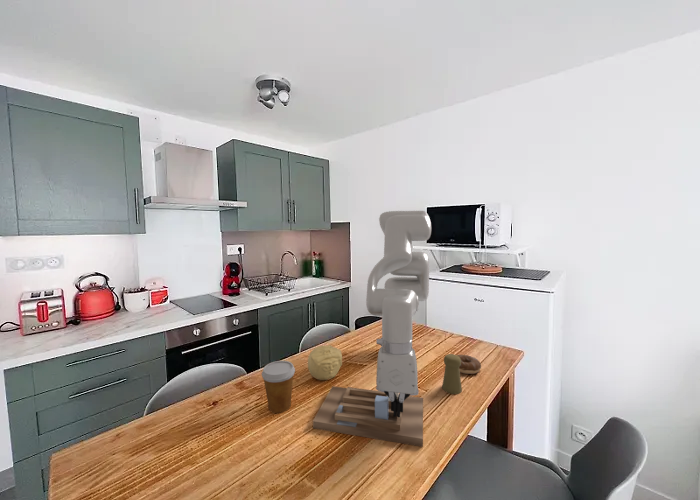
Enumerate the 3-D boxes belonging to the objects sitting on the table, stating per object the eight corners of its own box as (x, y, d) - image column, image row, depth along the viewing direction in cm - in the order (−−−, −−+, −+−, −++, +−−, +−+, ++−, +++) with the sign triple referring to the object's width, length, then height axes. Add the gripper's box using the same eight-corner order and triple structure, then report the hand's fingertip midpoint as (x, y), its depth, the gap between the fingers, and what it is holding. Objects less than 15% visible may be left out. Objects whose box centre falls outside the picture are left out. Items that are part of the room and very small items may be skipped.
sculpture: (315, 387, 96) (314, 356, 95) (303, 371, 106) (302, 343, 105) (346, 379, 101) (346, 348, 100) (332, 364, 112) (331, 337, 111)
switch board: (332, 392, 93) (332, 382, 93) (423, 404, 86) (423, 393, 86) (313, 428, 77) (312, 416, 76) (422, 446, 70) (422, 433, 69)
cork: (463, 395, 90) (464, 360, 90) (443, 393, 92) (443, 359, 91) (460, 384, 96) (460, 352, 95) (441, 382, 98) (441, 351, 97)
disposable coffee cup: (301, 400, 89) (300, 362, 88) (285, 420, 80) (283, 378, 79) (275, 394, 92) (273, 358, 91) (256, 413, 83) (254, 372, 82)
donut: (449, 373, 104) (449, 362, 104) (450, 360, 114) (450, 350, 114) (482, 378, 100) (482, 367, 100) (480, 364, 110) (480, 354, 110)
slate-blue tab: (376, 414, 78) (376, 395, 78) (388, 416, 77) (388, 396, 77) (374, 421, 76) (374, 401, 75) (387, 423, 75) (387, 402, 74)
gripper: (365, 348, 72) (365, 418, 73) (428, 354, 68) (427, 427, 70) (370, 337, 79) (370, 401, 81) (427, 341, 76) (426, 408, 77)
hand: (397, 413), depth 75 cm, fingers closed
